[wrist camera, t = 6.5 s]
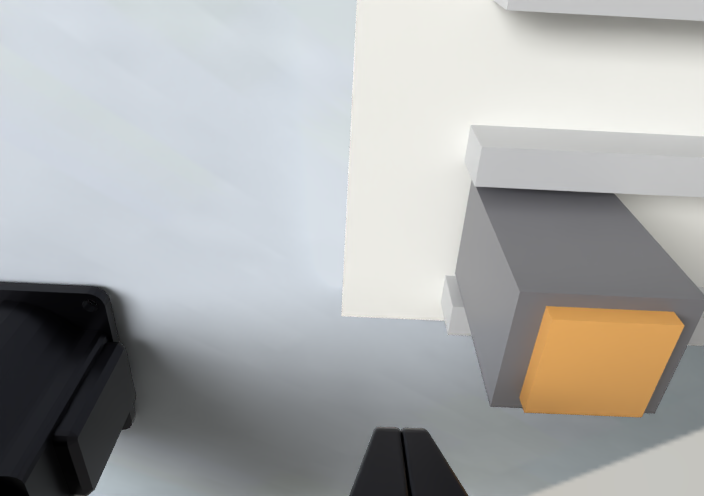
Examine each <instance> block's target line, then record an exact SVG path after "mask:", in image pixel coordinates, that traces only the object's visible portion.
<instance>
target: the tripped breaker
mask: <svg viewBox="0 0 704 496" xmlns="http://www.w3.org/2000/svg"><path fill="white" fill-rule="evenodd" d="M455 275H456V279H457V283H458V286H459V290H460V294H461V298H462V301H463V305H464V309H465V313H466V317H467V320H468V324H469V328H470V332H471V335H472V339H473V343H474V347H475V350H476V354H477V358H478V362H479V366H480V369H481V373H482V377H483V381H484V384H485V388H486V392H487V396H488V399H489V403H490V407H510V408H523V411H524V413H546V414H571V415H595V416H620V417H642V416H643V413H655V411H656V409H657V407H658V405H659V403H660V401H661V399H662V397H663V395H664V393H665V391H666V389H667V386H668V384H669V382H670V380H671V378H672V376H673V374H674V372H675V370H676V368H677V366H678V364H679V362H680V360H681V357H682V355H683V353H684V351H685V349H686V347H687V345H688V343H689V341H690V339H691V337H692V335H693V333H694V331H695V329H696V326H697V324H698V322H699V320H700V318H701V316H702V314H703V312H704V294H703V293H702V292H701V290H700V289H699V288H698V287H697V286H696V285H695V284H694V283H693V281H692V280H691V279H690V278H689V277H688V276H687V275H686V274H685V272H684V271H683V270H682V269H681V268H680V267H679V266H678V265H677V263H676V262H675V261H674V260H673V259H672V258H671V257H670V256H669V254H668V253H667V252H666V251H665V250H664V249H663V248H662V247H661V245H660V244H659V243H658V242H657V241H656V240H655V239H654V238H653V237H652V235H651V234H650V233H649V232H648V231H647V230H646V229H645V228H644V226H643V225H642V224H641V223H640V222H639V221H638V220H637V219H636V217H635V216H634V215H633V214H632V213H631V212H630V211H629V210H628V208H627V207H626V206H625V205H624V204H623V203H622V202H621V201H620V199H619V198H618V197H617V196H616V195H615V194H614V193H599V192H578V191H558V190H537V189H516V188H496V187H475V186H474V184H473V181H472V180H471V185H470V191H469V197H468V202H467V208H466V214H465V219H464V225H463V230H462V236H461V242H460V247H459V253H458V259H457V264H456V270H455Z"/></svg>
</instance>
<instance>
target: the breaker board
mask: <svg viewBox="0 0 704 496" xmlns="http://www.w3.org/2000/svg"><path fill="white" fill-rule="evenodd" d="M471 180H472V181H473V184H474V186H475V187H496V188H516V189H537V190H558V191H578V192H599V193H614V194H615V195H616V196H617V197H618V198H619V199H620V201H621V202H622V203H623V204H624V205H625V206H626V207H627V208H628V210H629V211H630V212H631V213H632V214H633V215H634V216H635V217H636V219H637V220H638V221H639V222H640V223H641V224H642V225H643V226H644V228H645V229H646V230H647V231H648V232H649V233H650V234H651V235H652V237H653V238H654V239H655V240H656V241H657V242H658V243H659V244H660V245H661V247H662V248H663V249H664V250H665V251H666V252H667V253H668V254H669V256H670V257H671V258H672V259H673V260H674V261H675V262H676V263H677V265H678V266H679V267H680V268H681V269H682V270H683V271H684V272H685V274H686V275H687V276H688V277H689V278H690V279H691V280H692V281H693V283H694V284H695V285H696V286H697V287H698V288H699V289H700V290H701V292H702V293H703V294H704V0H357V6H356V26H355V46H354V66H353V87H352V107H351V127H350V147H349V167H348V188H347V208H346V228H345V248H344V269H343V289H342V315H341V316H348V317H371V318H394V319H417V320H440V321H445V325H446V329H447V334H448V335H461V336H472V335H471V332H470V328H469V324H468V320H467V317H466V313H465V309H464V305H463V301H462V298H461V294H460V290H459V286H458V283H457V279H456V275H455V270H456V264H457V259H458V253H459V247H460V242H461V236H462V230H463V225H464V219H465V214H466V208H467V202H468V197H469V191H470V185H471ZM688 345H692V346H704V312H703V314H702V316H701V318H700V320H699V322H698V324H697V326H696V329H695V331H694V333H693V335H692V337H691V339H690V341H689V343H688Z"/></svg>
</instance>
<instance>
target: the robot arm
mask: <svg viewBox="0 0 704 496" xmlns="http://www.w3.org/2000/svg"><path fill="white" fill-rule="evenodd" d="M88 300H92V301H94V302H95V303H96V304H97V305H95V304H92V303H90V302H89V301H88ZM135 399H136V393H135V389H134V384H133V380H132V375H131V371H130V366H129V361H128V357H127V352H126V348H125V347H124V346H123V345H122V343H121V342H119V338H118V333H117V329H116V324H115V320H114V315H113V311H112V306H111V302H110V298H109V296H108V294H107V293H106V292H105V291H104V290H102V289H100V288H98V287H93V286H73V285H50V284H28V283H5V282H0V496H88V495H89V494H90V493H91V492H93V491H94V490H95V488H96V486H97V483H98V481H99V479H100V477H101V474H102V472H103V470H104V468H105V466H106V463H107V461H108V459H109V457H110V454H111V452H112V450H113V448H114V446H115V443H116V441H117V439H118V437H119V434H120V432H121V430H124V429H128V428H130V426H131V425H132V423H133V421H134V418H135V409H134V404H133V403H134V401H135ZM349 496H468V494H467V493H466V491H465V489H464V488H463V486H462V485H461V483H460V482H459V480H458V478H457V477H456V475H455V474H454V472H453V470H452V469H451V467H450V466H449V464H448V462H447V461H446V459H445V458H444V456H443V454H442V453H441V451H440V450H439V448H438V447H437V445H436V443H435V442H434V440H433V439H432V437H431V435H430V434H429V432H428V431H427V430H425V429H423V428H403V429H401V431H400V430H399V428H397V427H376V428H375V429H374V431H373V434H372V437H371V439H370V442H369V445H368V447H367V450H366V453H365V455H364V458H363V460H362V463H361V466H360V468H359V471H358V474H357V476H356V479H355V482H354V484H353V487H352V490H351V492H350V495H349Z"/></svg>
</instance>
